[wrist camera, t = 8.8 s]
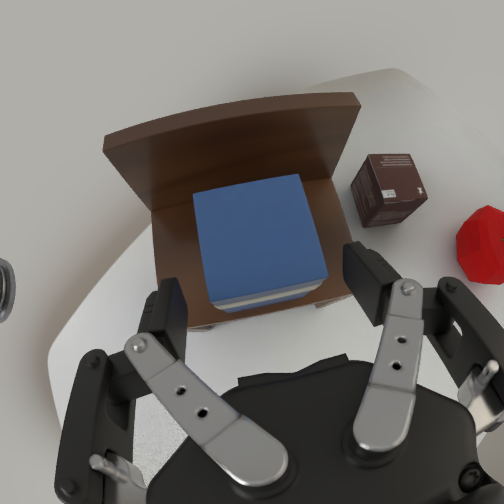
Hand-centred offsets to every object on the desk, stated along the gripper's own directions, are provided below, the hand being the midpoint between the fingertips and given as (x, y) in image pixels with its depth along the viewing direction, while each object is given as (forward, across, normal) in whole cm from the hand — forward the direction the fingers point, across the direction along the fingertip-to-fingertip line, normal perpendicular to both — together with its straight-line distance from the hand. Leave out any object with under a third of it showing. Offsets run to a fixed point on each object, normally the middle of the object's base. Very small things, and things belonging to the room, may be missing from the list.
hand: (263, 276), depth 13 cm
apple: (+12, -31, +13) cm, 36 cm away
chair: (+15, 0, +10) cm, 18 cm away
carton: (+5, 0, +3) cm, 5 cm away
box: (+19, -17, +6) cm, 26 cm away
